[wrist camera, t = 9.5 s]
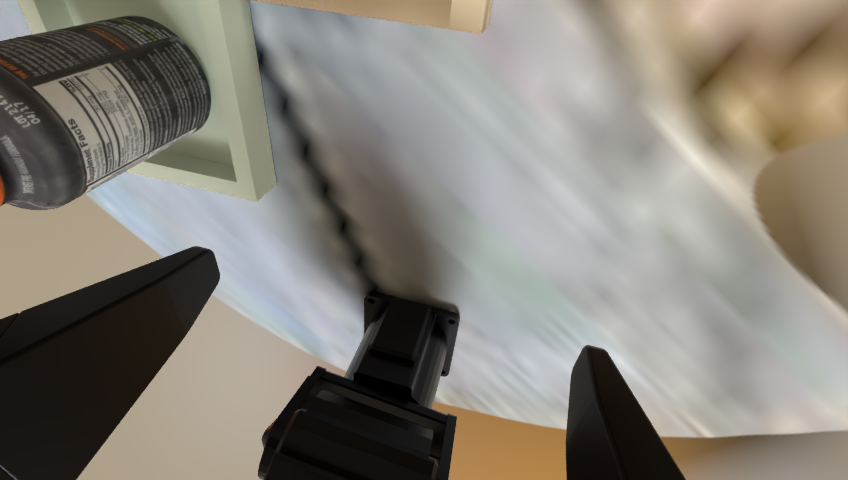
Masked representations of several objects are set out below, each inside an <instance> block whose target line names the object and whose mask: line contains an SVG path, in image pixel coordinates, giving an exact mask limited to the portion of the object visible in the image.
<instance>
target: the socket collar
mask: <svg viewBox="0 0 848 480" xmlns="http://www.w3.org/2000/svg"><path fill="white" fill-rule="evenodd" d="M253 1H260V2H267V3H274V4H281V5H287V6H294V7H301V8H308V9H315V10H322V11H328V12H335V13H342V14H349V15H356V16H363V17H369V18H376V19H383V20H390V21H397V22H404V23H410V24H417V25H424V26H431V27H438V28H445V29H451V30H458V31H465V32H472V33H479V34H482V33H483V31H484V30H485V29H486V27H487V26H488V25H489V19H490V13H491V7H492V1H493V0H253Z"/></svg>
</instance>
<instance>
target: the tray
mask: <svg viewBox="0 0 848 480" xmlns="http://www.w3.org/2000/svg"><path fill="white" fill-rule="evenodd" d="M17 1H18V4H19V6H20V8H21V10H22V12H23V15H24V17H25V19H26V21H27V23H28V26H29V28H30V30H31V32H32V35H33V34H38V33H44V32H48V31H54V30H58V29H64V28H68V27H72V26H78V25H83V24H87V23H92V22H96V21H101V20H108V19H112V18H117V17H123V16H130V15H133V16H141V17H146V18H149V19H151V20H154V21H156V22H158V23H160V24H162V25H163V26H165V27H167V28H168V29H169V30H171V31H172V32H173V33H175V34H176V35H177V36H178V37H179V38H180V39H181V40H182V41H183V42H184V43H185V44H186V45H187V46H188V47H189V49H190V50H191V51H192V52H193V54H194V55H195V57H196V58H197V60H198V62H199V63H200V65H201V67H202V69H203V71H204V73H205V75H206V78H207V80H208V83H209V88H210V93H211V110H210V114H209V117H208V119H207V121H206V123H205V124H204V126H203V127H202V128H200V129H199V130H197V131H196V132H194V133H193V134H191V135H190V136H188V137H186V138H184V139H182V140H180V141H178V142H177V143H175V144H173V145H171V146H170V147H168V148H166V149H164V150H162V151H161V152H159V153H157V154H155V155H153V156H152V157H150V158H148V159H146V160H144V161H143V162H141V163H139V164H137V165H136V166H134V167H132V168H130V169H128V170H127V171H125V172H129V173H133V174H138V175H142V176H147V177H151V178H155V179H160V180H164V181H168V182H173V183H177V184H182V185H186V186H190V187H195V188H199V189H203V190H208V191H212V192H217V193H221V194H225V195H230V196H234V197H238V198H243V199H247V200H252V201H256V202H257V201H258V200H259V199H260V198H261V197H263V196H264V195H265V194H266V193H267V192H268V191H269V190H271V189H272V188H273V187H274V186H275V185H276V184H277V182H276V176H275V169H274V163H273V156H272V150H271V143H270V137H269V130H268V123H267V117H266V110H265V104H264V97H263V91H262V84H261V78H260V71H259V65H258V58H257V52H256V45H255V39H254V32H253V26H252V19H251V12H250V6H249V0H17Z"/></svg>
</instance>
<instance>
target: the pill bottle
mask: <svg viewBox="0 0 848 480" xmlns="http://www.w3.org/2000/svg"><path fill="white" fill-rule="evenodd" d="M210 110H211V93H210V88H209V83H208V80H207V78H206V75H205V73H204V71H203V69H202V67H201V65H200V63H199V62H198V60H197V58H196V57H195V55H194V54H193V52H192V51H191V50H190V49H189V47H188V46H187V45H186V44H185V43H184V42H183V41H182V40H181V39H180V38H179V37H178V36H177V35H176V34H175V33H173V32H172V31H171V30H169V29H168V28H167V27H165V26H163V25H162V24H160V23H158V22H156V21H154V20H151V19H149V18H146V17H141V16H133V15H130V16H123V17H117V18H112V19H108V20H101V21H96V22H92V23H87V24H83V25H78V26H72V27H68V28H64V29H58V30H54V31H48V32H44V33H38V34H33V35H28V36H23V37H17V38H14V39H8V40H4V41H0V206H2V205H3V204H5V203H7V204H10V205H13V206H16V207H19V208H25V209H31V210H48V209H54V208H58V207H60V206H63V205H65V204H67V203H69V202H71V201H72V200H74V199H76V198H78V197H80V196H81V195H83V194H85V193H87V192H89V191H91V190H92V189H94V188H96V187H98V186H100V185H101V184H103V183H105V182H107V181H109V180H111V179H112V178H114V177H116V176H118V175H119V174H121V173H123V172H125V171H127V170H128V169H130V168H132V167H134V166H136V165H137V164H139V163H141V162H143V161H144V160H146V159H148V158H150V157H152V156H153V155H155V154H157V153H159V152H161V151H162V150H164V149H166V148H168V147H170V146H171V145H173V144H175V143H177V142H178V141H180V140H182V139H184V138H186V137H188V136H190V135H191V134H193V133H194V132H196V131H197V130H199V129H200V128H202V127H203V126H204V124H205V123H206V121H207V119H208V117H209V114H210Z"/></svg>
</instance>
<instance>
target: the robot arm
mask: <svg viewBox="0 0 848 480" xmlns="http://www.w3.org/2000/svg"><path fill="white" fill-rule="evenodd" d="M219 279H220V272H219V269H218V265H217V262H216V258H215V255H214V253H213V251H212V250H210V249H206V248H202V247H198V246H195V247H191V248H189V249H186V250H183V251H181V252H178V253H175V254H173V255H170V256H167V257H165V258H162V259H159V260H157V261H155V262H151V263H149V264H146V265H144V266H141V267H138V268H135V269H133V270H130V271H128V272H125V273H122V274H120V275H117V276H114V277H112V278H109V279H106V280H104V281H101V282H98V283H96V284H93V285H90V286H88V287H85V288H82V289H80V290H77V291H75V292H72V293H69V294H67V295H64V296H61V297H59V298H56V299H53V300H51V301H48V302H45V303H43V304H40V305H37V306H35V307H32V308H29V309H27V310H24V311H22V312H21V313H20V314H19V313H16V314H13V315H11V316H8V317H5V318H3V319H0V480H76V479H77V478H78V477H79V475H80V474H81V473H82V471H83V470H84V468H85V467H86V466H87V465H88V463H89V462H90V461H91V460H92V458H93V457H94V456H95V454H96V453H97V452H98V450H99V449H100V448H101V446H102V445H103V444H104V443H105V441H106V440H107V439H108V437H109V436H110V435H111V433H112V432H113V431H114V429H115V428H116V427H117V425H118V424H119V423H120V421H121V420H122V419H123V417H124V416H125V415H126V414H127V412H128V411H129V410H130V408H131V407H132V406H133V404H134V403H135V402H136V400H137V399H138V398H139V396H140V395H141V393H142V392H143V391H144V390H145V389H146V387H147V386H148V385H149V383H150V382H151V381H152V379H153V378H154V377H155V375H156V374H157V373H158V371H159V370H160V369H161V367H162V366H163V365H164V364H165V362H166V361H167V360H168V358H169V357H170V356H171V354H172V353H173V352H174V351H175V349H176V348H177V347H178V345H179V344H180V343H181V341H182V340H183V338H184V337H185V336H186V334H187V333H188V331H189V330H190V328H191V327H192V325H193V324H194V322H195V320H196V319H197V317H198V315H199V314H200V312H201V310H202V309H203V307H204V305H205V304H206V302H207V301H208V299H209V297H210V296H211V294H212V293H213V291H214V289H215V288H216V286H217V284H218V282H219ZM451 319H453V320H451ZM459 321H460V317H459V315H458V314H457V313H454V312H451V311H447V310H443V309H439V308H435V307H431V306H427V305H423V304H420V303H416V302H412V301H408V300H404V299H400V298H396V297H392V296H388V295H384V294H380V293H376V292H368V293H367V294H366V296H365V299H364V334H365V335H364V337H363V339H362V341H361V343H360V345H359V347H358V349H357V351H356V353H355V356H354V358H353V360H352V362H351V364H350V366H349V368H348V370H347V372H346V374H345V376H344V377H342V376H340V375H337V374H334V373H331V372H329V371H326V369H325V368H322V367H319V366H317V367H316V369H315V370H314V372H313V373H312V374H311V376H308V377H307V378H306V380H305V381H304V382H303V384H302V385H301V386H300V388H299V389H298V391H297V392H296V393H295V395H294V396H293V397H292V399H291V400H290V401H289V403H288V404H287V406H286V407H285V408H284V410H283V411H282V412H281V414H280V415H279V416H278V418H277V419H276V420H275V421H274V422H273V423H272V424H271V425H270V426H269V427H268V428H267V429H266V430H265V432H264V434H263V437H262V443H263V447H264V451H263V455H262V458H261V461H260V464H259V469H258V477H259V478H260V479H262V480H448V477H449V470H450V462H451V455H452V448H453V441H454V434H455V427H456V419H457V417H456V416H454V415H451V414H447V415H446V414H443V413H441V412H438V411H435V410H433V409H432V405H433V402H434V398H435V394H436V391H437V387H438V383H439V379H440V376H447V375H448V374H449V370H450V366H451V361H452V356H453V351H454V346H455V341H456V336H457V331H458V326H459ZM566 471H567V480H686V479H685V477H684V475H683V474H682V472H681V471H680V469H679V467H678V466H677V464H676V463H675V461H674V459H673V458H672V456H671V455H670V453H669V451H668V450H667V448H666V446H665V445H664V443H663V442H662V440H661V438H660V437H659V435H658V433H657V432H656V430H655V429H654V427H653V425H652V424H651V422H650V420H649V419H648V417H647V416H646V414H645V412H644V411H643V409H642V408H641V406H640V404H639V403H638V401H637V399H636V398H635V396H634V395H633V393H632V391H631V390H630V388H629V386H628V385H627V383H626V382H625V380H624V378H623V377H622V375H621V374H620V372H619V370H618V369H617V367H616V365H615V364H614V362H613V361H612V359H611V357H610V356H609V354H608V353H607V351H606V350H604V349H602V348H598V347H594V346H590V345H586V346H585V347H584V348H583V349H582V351H581V353H580V355H579V357H578V359H577V361H576V363H575V365H574V367H573V370H572V374H571V383H570V396H569V408H568V420H567V434H566Z"/></svg>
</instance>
